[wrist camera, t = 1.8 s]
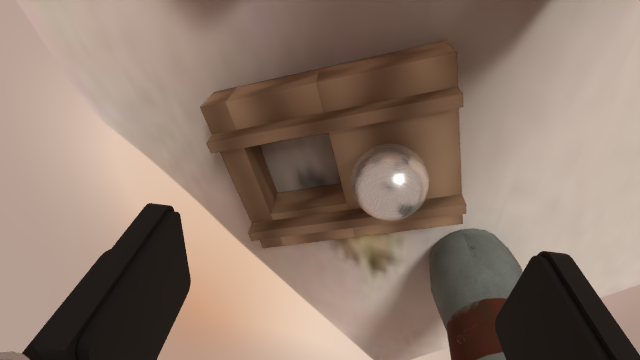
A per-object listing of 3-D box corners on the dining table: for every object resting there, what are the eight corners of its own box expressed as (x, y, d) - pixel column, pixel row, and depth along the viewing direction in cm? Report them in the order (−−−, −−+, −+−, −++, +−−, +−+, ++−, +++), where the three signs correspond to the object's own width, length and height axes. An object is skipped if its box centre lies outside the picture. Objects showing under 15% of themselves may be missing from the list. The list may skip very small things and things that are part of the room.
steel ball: (419, 124, 28) (432, 163, 23) (425, 185, 32) (438, 231, 27) (345, 137, 30) (342, 177, 25) (358, 195, 33) (358, 241, 28)
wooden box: (446, 40, 28) (461, 58, 24) (454, 201, 36) (466, 234, 32) (214, 92, 32) (193, 115, 28) (269, 225, 40) (260, 258, 36)
